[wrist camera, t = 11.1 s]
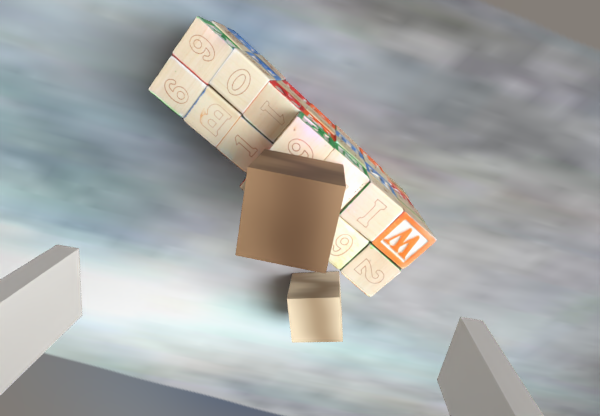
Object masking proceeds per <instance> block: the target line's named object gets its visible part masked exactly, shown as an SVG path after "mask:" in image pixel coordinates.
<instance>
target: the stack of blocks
mask: <svg viewBox="0 0 600 416" xmlns="http://www.w3.org/2000/svg"><path fill="white" fill-rule="evenodd" d="M149 91H150V92H151V93H152V94H153V95H155V96H156V97H157V98H158V99H159V100H161V101H162V102H163V103H164V104H165V105H167V106H168V107H169V108H170V109H171V110H172V111H174V112H175V113H176V114H178V115H179V116H180V117H182V118H183V120H184V121H185V122H186V123H187V124H188V125H189V126H191V127H192V128H193V129H194V130H195V131H196V132H198V133H199V134H200V135H201V136H203V137H204V138H205V139H206V140H207V141H209V142H210V143H211V144H212V145H213V146H215V147H216V148H217V149H218V150H219V151H220V152H221V153H222V154H223V155H225V156H226V157H227V158H228V159H229V160H231V161H232V162H233V163H234V164H236V165H237V166H238V167H239V168H240V169H242V170H243V171H244V172H246V173H247V168H248V166H249V165H250V164H251V163H252V162H253V161H254V160H255V159H256V158H257V157H258V156H259V155H260V154H261V153H262V151H263V150H264V149H268V150H273V151H278V152H283V153H288V154H293V155H298V156H303V157H308V158H313V159H318V160H323V161H328V162H333V163H338V164H343V166H344V174H345V182H346V189H345V193H344V198H343V202H342V206H341V210H340V215H339V219H338V223H337V227H336V231H335V236H334V240H333V244H332V248H331V253H330V257H329V262H330V263H331V264H332V265H333V266H335V267H336V268H337V269H339V270H340V271H341V273H342V274H343V275H344V276H345V277H347V278H348V279H349V280H350V281H351V282H352V283H353V284H355V285H356V286H357V287H358V288H359V289H360V290H362V291H363V292H364V293H365V294H366V295H368V296H369V297H371V296H373V295H374V294H375V293H376V292H377V291H379V290H380V289H381V288H382V287H383V286H385V285H386V284H387V283H388V282H389V281H390V280H392V279H393V278H394V277H395V276H397V275H398V274H399V273H400V272H401V269H404V268H405V267H407V266H408V265H409V264H410V263H412V262H413V261H414V260H415V259H416V258H417V257H418V256H420V255H421V254H422V253H423V252H424V251H425V250H426V249H428V248H429V247H430V246H431V245H432V244H433V243H434V242H435V241H436V238H435V236H434V235H433V234H432V232H431V231H430V229H429V228H428V227H427V225H426V224H425V222H424V220H423V218H422V217H421V216H420V214H419V212H418V211H417V210H416V209H415V208H414V206H413V205H412V204H411V202H410V201H409V197H408V196H407V195H406V193H405V192H404V191H403V189H402V188H401V187H400V186H399V185H398V184H397V183H396V182H394V181H393V180H392V179H391V178H390V177H389V176H388V175H387V174H386V173H385V172H384V171H383V170H382V168H381V167H380V166H379V165H378V164H377V163H376V162H375V161H374V160H373V159H372V158H370V157H369V156H368V155H367V154H366V153H365V152H364V151H363V150H362V149H361V148H360V147H359V146H358V145H357V144H356V143H355V142H354V141H353V140H352V139H351V138H350V137H349V136H348V135H346V134H345V133H344V132H343V131H342V130H341V129H340V128H339V127H338V126H337V125H334V124H333V123H332V122H331V121H330V120H329V119H328V118H326V117H325V116H324V115H323V114H322V113H321V112H320V111H319V110H318V109H317V108H316V107H315V106H314V105H313V104H311V103H309V102H308V101H307V100H306V99H305V98H304V97H303V96H302V95H301V94H300V93H299V92H298V91H297V90H296V89H295V88H294V87H292V86H291V85H290V84H289V83H288V82H287V81H286V78H285V77H284V76H283V75H282V74H281V73H280V72H279V71H278V70H277V69H276V68H274V67H273V66H272V65H271V64H270V63H269V62H268V61H267V60H266V59H265V58H264V57H263V56H262V55H260V54H259V53H258V52H257V51H256V50H254V49H253V48H252V47H251V46H250V45H249V44H248V43H247V42H246V41H245V40H244V39H243V38H242V37H240V36H239V35H238V34H237V33H236V32H235V31H234V30H231V29H229V28H227V27H225V26H223V25H221V24H219V23H217V22H215V21H212V22H210V21H208V20H205V19H203V18H201V17H198V16H197V17H196V19H195V20H194V21H193V23H192V24H191V26H190V27H189V29H188V30H187V32H186V33H185V35H184V36H183V38H182V39H181V40H180V42H179V43H178V45H177V46H176V48H175V49H174V51H173V53H172V56H171V57H170V58H169V59H168V61H167V62H166V64H165V65H164V67H163V68H162V69H161V71H160V73H159V74H158V76H157V77H156V78H155V80H154V81H153V83H152V84H151V86H150V87H149ZM245 183H246V179H245V180H244V181H243V182H242V184H241V185H240V188H241V189H242V190H245Z"/></svg>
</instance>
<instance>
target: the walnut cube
mask: <svg viewBox="0 0 600 416" xmlns="http://www.w3.org/2000/svg"><path fill="white" fill-rule="evenodd" d="M345 189H346V182H345V174H344V166H343V164H338V163H333V162H328V161H323V160H318V159H313V158H308V157H303V156H298V155H293V154H288V153H283V152H278V151H273V150H268V149H264V150H263V151H262V153H261V154H260V155H259V156H258V157H257V158H256V159H255V160H254V161H253V162H252V163H251V164H250V165H249V166H248V168H247V175H246V183H245V190H244V197H243V204H242V212H241V219H240V226H239V233H238V241H237V248H236V255H237V256H242V257H247V258H252V259H257V260H262V261H266V262H271V263H276V264H281V265H286V266H291V267H296V268H301V269H305V270H310V271H315V272H320V273H325V274H326V270H327V265H328V261H329V257H330V253H331V248H332V244H333V240H334V236H335V231H336V227H337V223H338V219H339V215H340V210H341V206H342V202H343V198H344V193H345Z"/></svg>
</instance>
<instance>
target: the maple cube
mask: <svg viewBox="0 0 600 416" xmlns="http://www.w3.org/2000/svg"><path fill="white" fill-rule="evenodd" d="M287 305H288V313H289V321H290V329H291V338H292V342H342V341H343V334H342V307H341V292H340V277H339V271H334V272H326V274H325V273H320V272H309V273H292V277H291V282H290V286H289V291H288V296H287Z"/></svg>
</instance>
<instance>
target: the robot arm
mask: <svg viewBox="0 0 600 416" xmlns="http://www.w3.org/2000/svg"><path fill="white" fill-rule="evenodd" d="M81 316H82V301H81V280H80V259H79V248H74V247H68V246H62V245H55V246H54V247H52V248H51V249H49V250H47V251H46V252H44V253H43V254H41V255H39V256H38V257H36V258H34V259H33V260H31V261H30V262H28V263H26V264H25V265H23V266H22V267H20V268H18V269H17V270H15V271H13V272H12V273H10V274H9V275H7V276H5V277H4V278H2V279H1V280H0V395H1V394H2V393H3V392H4V391H5V390H6V389H7V388H8V387H9V386H10V385H11V384H12V383H13V382H14V381H15V380H16V379H17V378H18V377H20V376H21V375H22V374H23V373H24V371H26V370H27V369H28V368H29V367H30V366H31V365H32V364H33V363H34V362H35V361H36V360H37V359H38V358H39V357H40V356H41V355H42V354H43V353H44V352H45V351H46V350H47V349H48V348H49V347H50V346H51V345H52V344H53V343H55V342H56V341H57V340H58V339H59V338H60V337H61V336H62V335H63V334H64V333H65V332H66V331H67V330H68V329H69V328H70V327H71V326H72V325H73V324H74V323H75V322H76V321H77V320H78V319H79V318H80V317H81ZM437 381H438V384H439V386H440V389H441V392H442V395H443V398H444V400H445V403H446V406H447V409H448V411H449V414H450V416H543V414H542V412H541V411H540V409H539V408H538V406H537V405H536V403H535V401H534V400H533V398H532V397H531V395H530V394H529V392H528V390H527V389H526V387H525V386H524V384H523V383H522V381H521V380H520V378H519V376H518V375H517V373H516V372H515V370H514V369H513V367H512V365H511V364H510V362H509V361H508V359H507V358H506V356H505V354H504V353H503V351H502V350H501V348H500V347H499V345H498V343H497V342H496V340H495V339H494V337H493V336H492V334H491V333H490V331H489V329H488V328H487V326H486V325H485V323H484V322H483V321H482V320H476V319H471V318H465V317H460V319H459V322H458V324H457V327H456V330H455V333H454V335H453V338H452V341H451V343H450V346H449V349H448V352H447V354H446V357H445V360H444V362H443V365H442V368H441V370H440V373H439V376H438V379H437Z"/></svg>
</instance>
